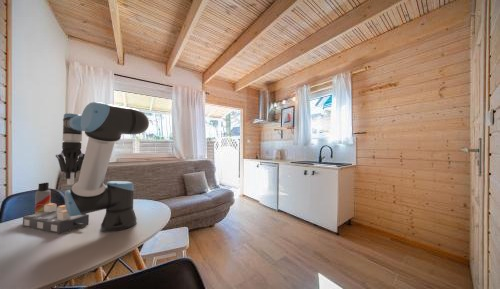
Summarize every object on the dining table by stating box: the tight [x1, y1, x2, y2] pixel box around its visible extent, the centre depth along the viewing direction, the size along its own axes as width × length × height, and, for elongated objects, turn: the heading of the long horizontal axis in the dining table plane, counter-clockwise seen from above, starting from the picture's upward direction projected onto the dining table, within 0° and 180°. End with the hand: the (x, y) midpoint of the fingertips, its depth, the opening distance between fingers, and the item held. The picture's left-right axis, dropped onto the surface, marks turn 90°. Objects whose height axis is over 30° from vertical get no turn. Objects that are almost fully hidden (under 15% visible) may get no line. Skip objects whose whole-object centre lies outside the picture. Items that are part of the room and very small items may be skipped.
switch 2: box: [56, 204, 66, 214], centre depth 95 cm, size 4×3×4 cm
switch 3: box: [44, 202, 58, 212], centre depth 97 cm, size 4×3×4 cm
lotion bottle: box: [34, 182, 52, 214], centre depth 102 cm, size 6×6×20 cm
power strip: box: [22, 208, 90, 235], centre depth 91 cm, size 33×12×6 cm, turn 75°
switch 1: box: [57, 210, 71, 221], centre depth 87 cm, size 4×3×4 cm
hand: (70, 184), depth 98 cm, fingers closed
